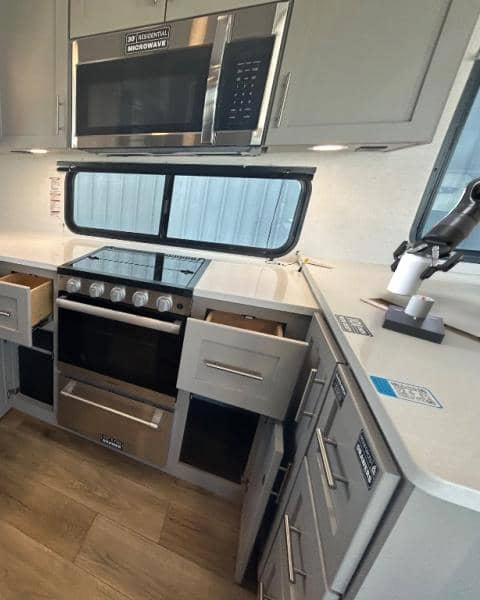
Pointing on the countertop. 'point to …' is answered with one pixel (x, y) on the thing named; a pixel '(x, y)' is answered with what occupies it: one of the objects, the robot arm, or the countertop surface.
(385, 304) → the cork mat
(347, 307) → the countertop surface
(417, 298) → the knob
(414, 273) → the can
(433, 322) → the block
